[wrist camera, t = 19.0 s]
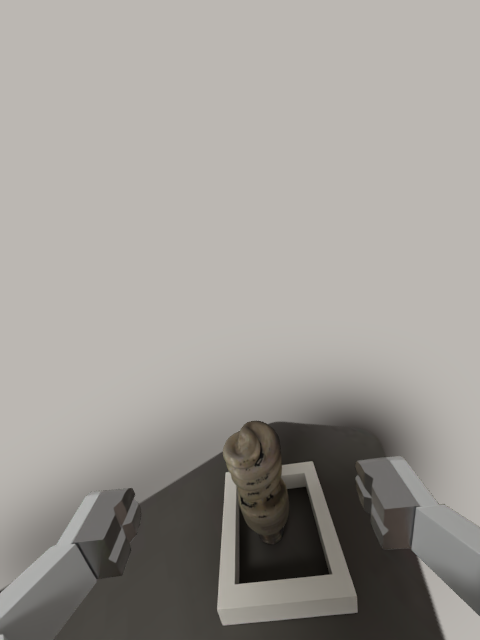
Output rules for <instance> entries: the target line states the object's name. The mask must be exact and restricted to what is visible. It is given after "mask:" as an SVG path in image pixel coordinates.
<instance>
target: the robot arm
mask: <svg viewBox="0 0 480 640" xmlns="http://www.w3.org/2000/svg"><path fill="white" fill-rule="evenodd" d="M355 469H356V471H357V473H358V476H357V477H356V478H355V484H356V489H357V494H358V497H359V499H360V502H361V504H362V507H363V509H364V510H365V511H366V512H367V513H368V514H369V515H370V516H371V526H372V528H373V531H374V533H375V535H376V537H377V539H378V541H379V543H380V546H381V548H382V550H388V549H403V548H411V550H412V551H413V552H414V553H415V554H416V555H417V556H418V557H419V558H420V559H421V560H422V561H423V562H424V563H425V564H426V565H428V567H430V568H431V569H432V570H433V571H434V572H435V573H436V574H437V575H438V576H439V577H440V578H441V579H442V580H443V581H444V582H445V583H446V584H447V585H448V586H449V587H450V588H451V589H452V590H453V591H454V592H455V593H456V594H457V595H458V596H459V597H460V598H461V599H463V600H464V601H465V602H466V603H467V604H468V605H469V606H470V607H471V608H472V609H473V610H474V611H475V612H476V613H477V614H478V615H479V616H480V527H478V526H477V525H475V524H474V523H472V522H471V521H469V520H468V519H466V518H465V517H463V516H462V515H460V514H459V513H457V512H456V511H454V510H453V509H451V508H449V507H448V506H446V505H445V504H440V505H439V503H438V502H437V501H436V499H435V498H434V497H433V495H432V494H431V493H430V492H429V490H428V489H427V488H426V486H425V485H424V484H423V482H422V481H421V480H420V478H419V477H418V476H417V474H416V473H415V472H414V471H413V469H412V468H411V467H410V465H409V464H408V463H407V461H406V460H405V459H404V458H403V457H402V456H394V457H386V458H384V457H382V458H375V459H368V460H360V461H356V463H355ZM134 496H135V493H134V491H133V489H132V488H128V489H116V490H104V491H95V492H90V493H89V494H88V495H87V496H86V497H85V498H84V500H83V501H82V503H81V505H80V506H79V508H78V510H77V511H76V513H75V515H74V516H73V518H72V520H71V521H70V523H69V525H68V526H67V528H66V530H65V531H64V533H63V535H62V536H61V538H60V539H59V541H58V543H57V544H56V546H51V547H50V548H49V549H48V550H47V551H46V552H45V553H43V554H42V555H41V556H40V557H39V558H38V559H37V560H36V561H35V562H34V563H33V564H31V565H30V566H29V567H28V568H27V569H26V570H25V571H24V572H23V573H22V574H21V575H19V576H18V577H17V578H16V579H15V580H14V581H13V582H12V583H11V584H10V585H8V586H7V587H6V588H5V589H4V590H3V591H2V592H1V593H0V640H53V639H54V638H55V636H56V635H57V634H58V632H59V631H60V630H61V628H62V627H63V626H64V624H65V623H66V622H67V620H68V619H69V618H70V617H71V615H72V614H73V613H74V611H75V610H76V609H77V607H78V606H79V605H80V603H81V602H82V601H83V599H84V598H85V597H86V595H87V594H88V593H89V591H90V590H91V589H92V587H93V586H94V585H95V583H96V582H97V580H96V579H102V578H109V577H116V576H122V575H123V573H124V570H125V567H126V564H127V561H128V558H129V556H130V553H131V546H130V542H131V541H132V540H133V538H134V537H135V536H136V535H137V533H138V529H139V526H140V522H141V507H140V505H139V503H138V502H137V501H135V500H134Z"/></svg>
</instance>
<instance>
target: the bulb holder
mask: <svg viewBox="0 0 480 640" xmlns="http://www.w3.org/2000/svg"><path fill="white" fill-rule="evenodd" d="M281 478H282V479H283V481H284V482H285V484H286V487H287V489H291V488H299V487H306V488H307V492H308V496H309V500H310V503H311V507H312V511H313V514H314V518H315V522H316V526H317V529H318V533H319V537H320V541H321V544H322V548H323V552H324V556H325V559H326V563H327V567H328V570H329V574H330V575H321V576H312V577H302V578H292V579H283V580H273V581H263V582H254V583H244V584H239V507H240V504H239V499H238V489H237V488H238V487H237V486H236V485H235V483H234V482H233V480H232V478H231V473H230V472H226V477H225V493H224V509H223V525H222V541H221V557H220V573H219V588H218V604H217V611H218V614H219V616H220V619H221V622H222V625H233V624H244V623H254V622H265V621H275V620H286V619H296V618H307V617H317V616H328V615H339V614H349V613H358V610H357V595H356V592H355V589H354V585H353V582H352V579H351V576H350V573H349V570H348V567H347V564H346V561H345V558H344V555H343V552H342V549H341V546H340V543H339V540H338V537H337V534H336V531H335V528H334V525H333V522H332V519H331V516H330V513H329V510H328V506H327V503H326V500H325V497H324V494H323V491H322V488H321V485H320V482H319V479H318V476H317V473H316V470H315V467H314V464H313V461H310V462H302V463H295V464H287V465H282V475H281Z"/></svg>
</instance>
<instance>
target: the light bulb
mask: <svg viewBox="0 0 480 640" xmlns="http://www.w3.org/2000/svg"><path fill="white" fill-rule="evenodd" d="M280 449H281V447H280V441H279V437H278V435H277V433H276V432H275V431H274V429H273V428H272V427H271V426H269V425H268V424H266V423H264V422H261V421H251V422H247V423H246V424H245V425H244V426H243V427H242V428H241V430H240V431H239V432H237V433H235V434H233V435H232V436H231V437H230V438H228V440H227V441H226V443H225V445H224V448H223V456H224V459H225V461H226V464H227V468H228V470H229V472H230V473H231V478H232V480H233V482H234V483H235V485H236V486H237V487H238V488H237V489H238V499H239V504H240V508H241V512H242V514H243V517H244V519H245V521H246V523H247V525H248V526H249V527H250V528H251V529H252V530H253V531H255V532H256V533H258V534H259V536H260V538H261V540H262V541H263V542H264V543H268V544H276V543H278V542H279V541H280V540H281V538H282V536H283V526H284V525H285V524H286V521H287V519H288V515H289V497H288V492H287V487H286V484H285V482H284V481H283V479H282V478H281V475H282V463H281V459H282V458H281V451H280Z"/></svg>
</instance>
